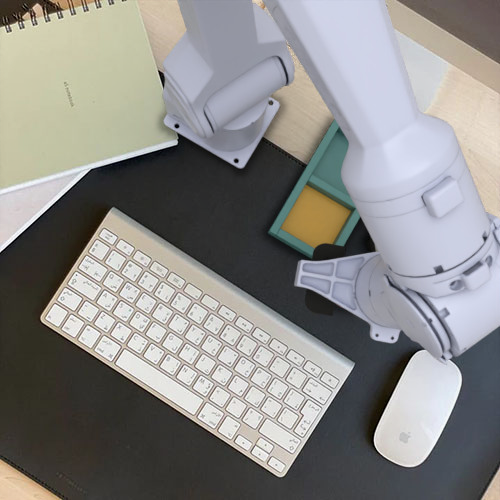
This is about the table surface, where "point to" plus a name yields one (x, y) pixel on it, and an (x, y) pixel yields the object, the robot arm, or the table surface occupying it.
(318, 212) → the teal divided tray
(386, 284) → the robot arm
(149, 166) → the table surface
